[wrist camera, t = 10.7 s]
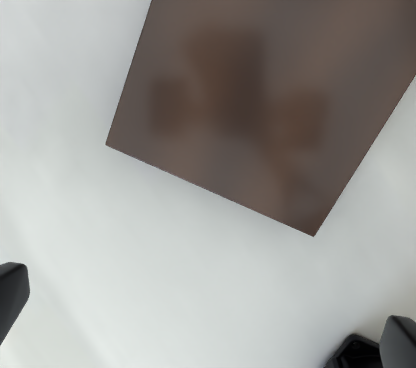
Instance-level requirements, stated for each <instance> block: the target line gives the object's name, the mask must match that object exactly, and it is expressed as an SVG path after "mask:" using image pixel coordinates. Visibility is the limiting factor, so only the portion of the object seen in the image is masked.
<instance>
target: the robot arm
mask: <svg viewBox="0 0 416 368" xmlns="http://www.w3.org/2000/svg"><path fill="white" fill-rule="evenodd" d="M29 295H30V287H29V278H28V270H27V267H26V265H24V264H21V263H14V262H8V263H5V264H2V265H0V345H1V344H2V342H3V340H4V339H5V337H6V335H7V334H8V332H9V330H10V329H11V327H12V325H13V324H14V322H15V320H16V319H17V317H18V315H19V314H20V312H21V311H22V309H23V307H24V306H25V304H26V302H27V300H28V298H29ZM354 342H357V343H355V344H353V343H354ZM324 368H416V322H414V321H413V320H411V319H410V318H408V317H402V316H395V315H391V316H389V317H388V319H387V321H386V324H385V328H384V331H383V334H382V337H381V340H380V345H379V344H376V343H374V342H372V341H369V340H367V339H365V338H363V337H360V336H358V335H351V336H349V337H348V338H347V339H346V340H345V342H344V343H343V344H342V346H341V347H340V348H339V350H338V351H337V352H336V353H335V355H334V356H333V357H332V358H331V359H330V360H329V362H328V363H327V364H326V365H325V367H324Z"/></svg>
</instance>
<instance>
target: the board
mask: <svg viewBox="0 0 416 368" xmlns="http://www.w3.org/2000/svg"><path fill="white" fill-rule="evenodd" d="M415 75H416V0H152V1H151V4H150V7H149V10H148V13H147V16H146V20H145V23H144V26H143V29H142V32H141V35H140V38H139V41H138V44H137V48H136V51H135V54H134V57H133V60H132V63H131V66H130V69H129V72H128V75H127V79H126V82H125V85H124V88H123V91H122V94H121V97H120V100H119V103H118V106H117V110H116V113H115V116H114V119H113V122H112V125H111V128H110V131H109V134H108V138H107V141H106V145H107V146H109V147H111V148H113V149H116V150H118V151H120V152H123V153H125V154H127V155H129V156H132V157H134V158H136V159H138V160H141V161H143V162H145V163H147V164H150V165H152V166H154V167H157V168H159V169H161V170H163V171H166V172H168V173H170V174H172V175H175V176H177V177H179V178H181V179H184V180H186V181H188V182H190V183H193V184H195V185H197V186H200V187H202V188H204V189H206V190H209V191H211V192H213V193H215V194H218V195H220V196H222V197H224V198H227V199H229V200H231V201H234V202H236V203H238V204H240V205H243V206H245V207H247V208H249V209H252V210H254V211H256V212H258V213H261V214H263V215H265V216H267V217H270V218H272V219H274V220H277V221H279V222H281V223H283V224H286V225H288V226H290V227H292V228H295V229H297V230H299V231H301V232H304V233H306V234H308V235H311V236H313V237H314V236H315V234H316V233H317V231H318V230H319V228H320V226H321V225H322V223H323V222H324V220H325V218H326V217H327V215H328V214H329V212H330V210H331V209H332V207H333V206H334V204H335V203H336V201H337V199H338V198H339V196H340V195H341V193H342V191H343V190H344V188H345V187H346V185H347V183H348V182H349V180H350V179H351V177H352V175H353V174H354V172H355V171H356V169H357V167H358V166H359V164H360V163H361V161H362V160H363V158H364V156H365V155H366V153H367V152H368V150H369V148H370V147H371V145H372V144H373V142H374V140H375V139H376V137H377V136H378V134H379V132H380V131H381V129H382V128H383V126H384V124H385V123H386V121H387V120H388V118H389V117H390V115H391V113H392V112H393V110H394V109H395V107H396V105H397V104H398V102H399V101H400V99H401V97H402V96H403V94H404V93H405V91H406V89H407V88H408V86H409V85H410V83H411V81H412V80H413V78H414V77H415Z"/></svg>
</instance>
